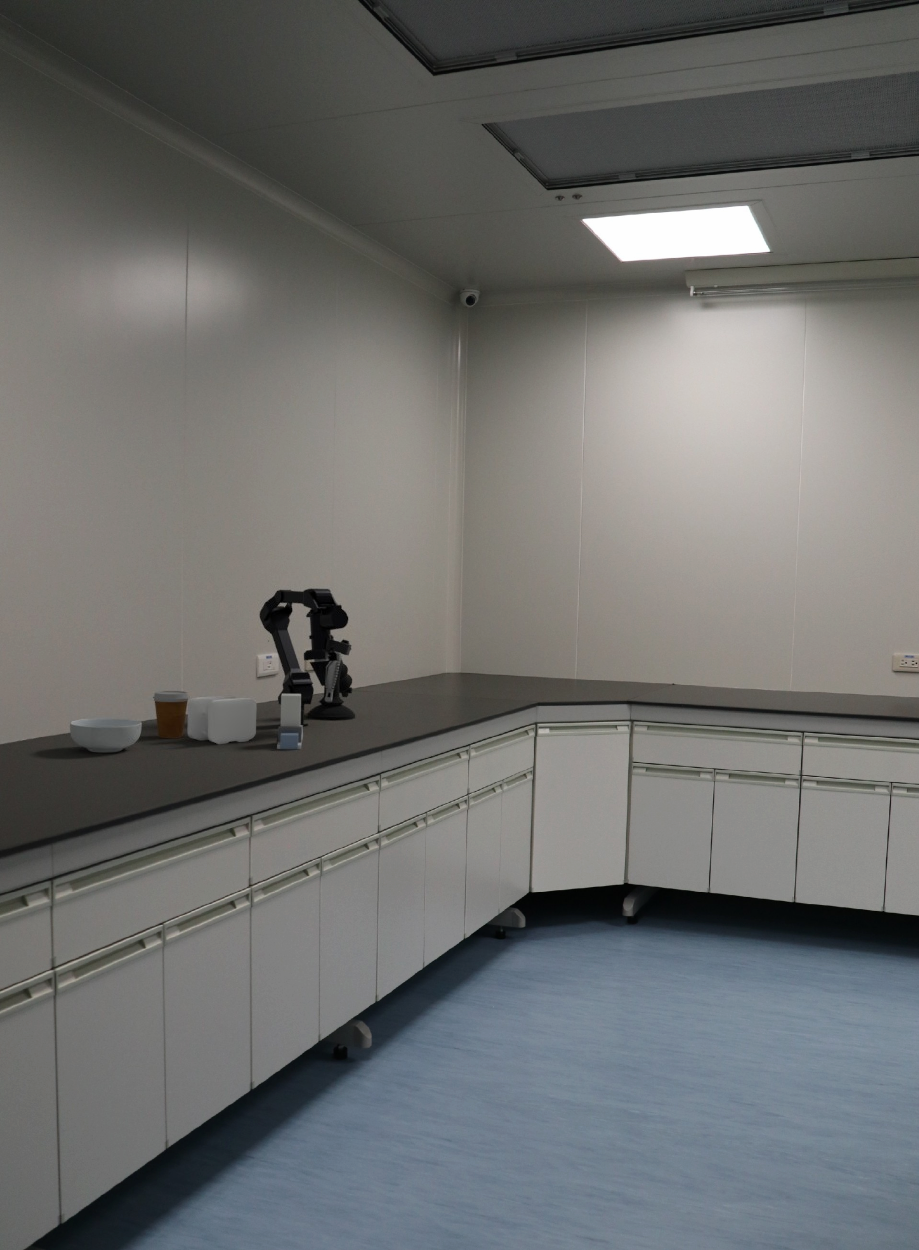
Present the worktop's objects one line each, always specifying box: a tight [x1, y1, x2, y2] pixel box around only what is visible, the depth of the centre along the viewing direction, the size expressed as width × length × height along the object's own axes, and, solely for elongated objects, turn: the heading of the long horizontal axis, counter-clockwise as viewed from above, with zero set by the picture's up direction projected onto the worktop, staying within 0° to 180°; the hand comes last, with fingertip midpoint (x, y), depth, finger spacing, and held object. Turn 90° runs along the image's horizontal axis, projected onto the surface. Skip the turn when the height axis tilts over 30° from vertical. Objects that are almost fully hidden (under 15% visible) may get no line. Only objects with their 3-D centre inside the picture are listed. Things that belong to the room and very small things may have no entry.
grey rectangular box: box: [280, 694, 301, 726], centre depth 276 cm, size 5×5×12 cm
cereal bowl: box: [69, 717, 143, 754], centre depth 259 cm, size 17×17×7 cm
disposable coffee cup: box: [152, 690, 190, 739], centre depth 283 cm, size 10×10×12 cm
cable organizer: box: [186, 695, 257, 745], centre depth 278 cm, size 15×11×12 cm
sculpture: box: [306, 638, 356, 721], centre depth 337 cm, size 15×24×25 cm, turn 170°
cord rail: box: [276, 725, 304, 750], centre depth 279 cm, size 24×6×5 cm, turn 7°
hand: (323, 685), depth 300 cm, fingers closed
